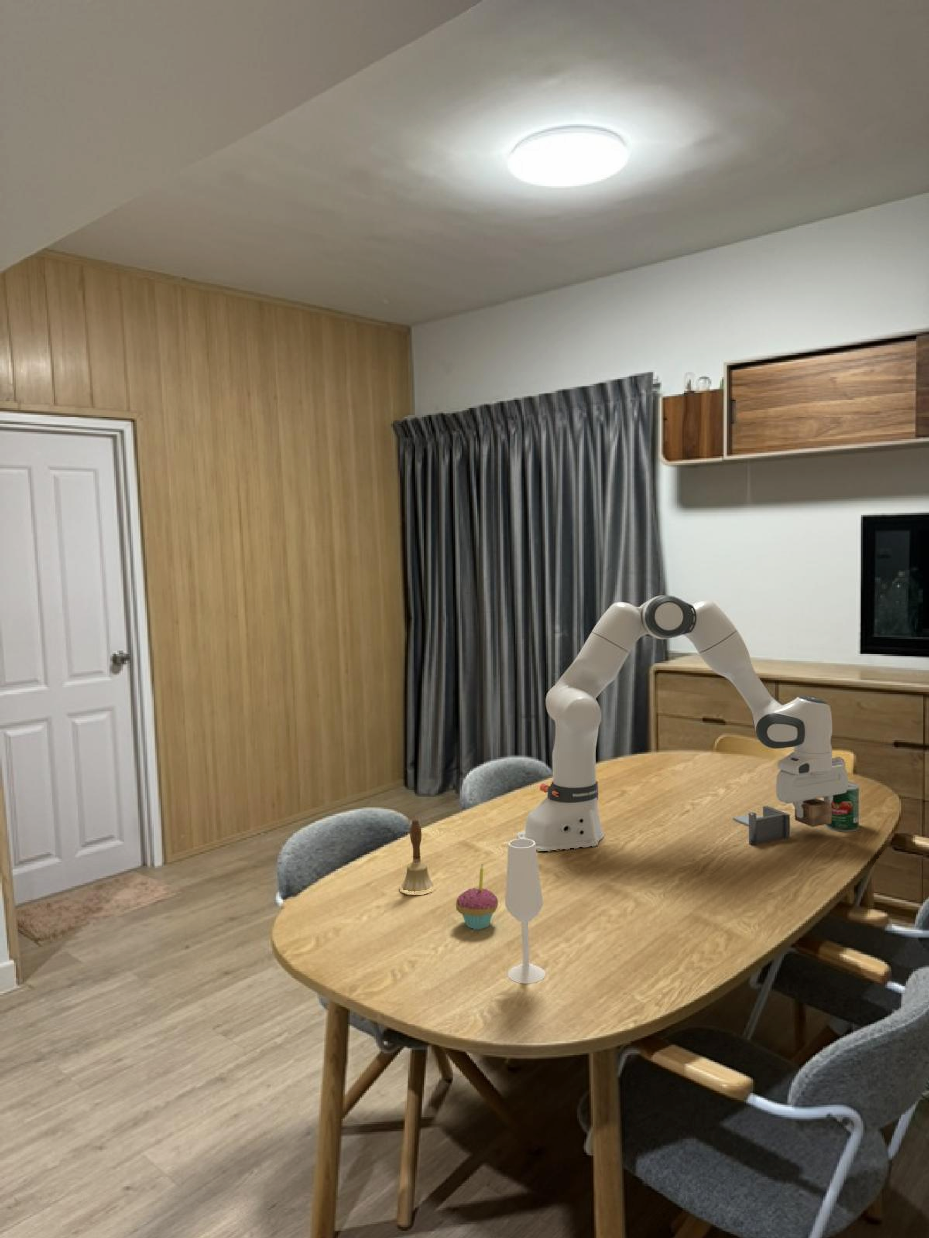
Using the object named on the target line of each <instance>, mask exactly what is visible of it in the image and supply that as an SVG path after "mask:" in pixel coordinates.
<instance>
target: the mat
mask: <svg viewBox="0 0 929 1238" xmlns="http://www.w3.org/2000/svg"><path fill="white" fill-rule="evenodd" d="M760 817H762V816H760V815H758V814H756V818H760ZM732 821H735V822H737V823H740V824H742V825H744V826H746V827H748V828H749V814H745V815H739V816H735V817H732Z"/></svg>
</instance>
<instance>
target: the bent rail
mask: <svg viewBox="0 0 929 1238" xmlns="http://www.w3.org/2000/svg"><path fill="white" fill-rule="evenodd" d="M748 815H749V827H748V844H749V845H751V846H756V845H758V844H762V843H763V842H764V843H767V842H772V841H777V840H782V839H785V838H786V840H787V839H790V838H791V836H790V835H791V822H790V821H791V820H790V819H791V815H790V814H789V813H787V812H785V811H781V810H779V809H776V808H773V807H771V806H768V805H764V806H762V816H761V817H760V818H756V815H757V813H756V812H748Z"/></svg>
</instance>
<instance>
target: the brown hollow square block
mask: <svg viewBox="0 0 929 1238" xmlns="http://www.w3.org/2000/svg"><path fill="white" fill-rule="evenodd" d="M801 806H802V809H803V810H805V811H806V817H804V818H799V817H797V815H796V809H795V808H794V820H795V821H797V822H799V823H801V824H804V825H806V826H809V827H811V828H815V827H820V826H824V825H825V826H826V824H830V823H831V803H828V802H825V801H823V800H822V799H820V798H816V799H810V800H805V801H803V805H801Z"/></svg>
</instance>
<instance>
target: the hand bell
mask: <svg viewBox="0 0 929 1238" xmlns="http://www.w3.org/2000/svg"><path fill="white" fill-rule="evenodd" d="M422 834H423V833H422V827H421V825H420V821H419V819H417V818H415V819H412V822H411V825H410V829H409V837H410V842H411V846H412V862H410V863H409V864H408V865H407V866H406V876H405V879H404V880H403V882H402V883H401V884H402V885H401V884H400V885H401V886H402V888H403V890H408V891H414V892H415V891H421V890H427V889H429V888H430V887H431V886H433V882H434V881H433V882H432V879H431V878H430V875H429V871H428V866H427V864H426V862H423V861H421V848H420V847H421V843H422V837H423V836H422Z"/></svg>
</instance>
